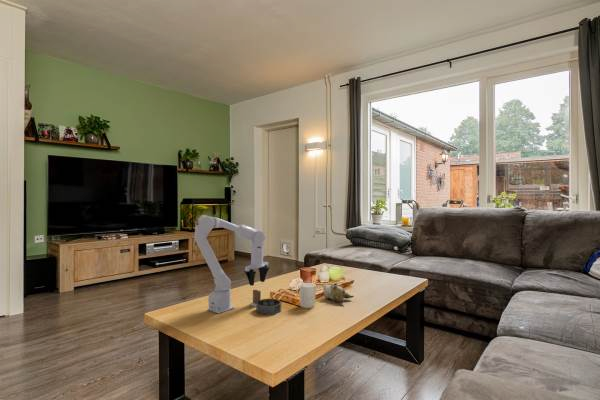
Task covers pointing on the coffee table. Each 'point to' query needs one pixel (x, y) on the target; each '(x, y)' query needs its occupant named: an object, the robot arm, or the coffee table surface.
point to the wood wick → (255, 297)
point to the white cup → (307, 295)
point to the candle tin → (268, 306)
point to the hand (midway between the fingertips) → (257, 283)
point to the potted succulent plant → (335, 293)
